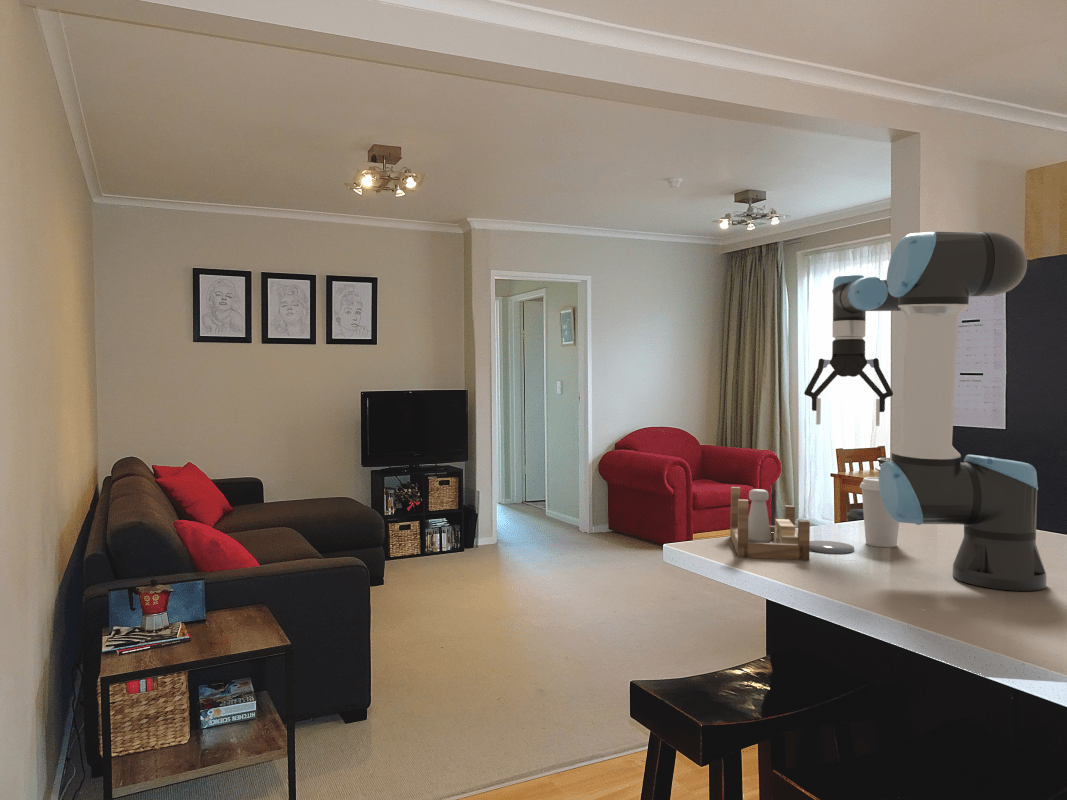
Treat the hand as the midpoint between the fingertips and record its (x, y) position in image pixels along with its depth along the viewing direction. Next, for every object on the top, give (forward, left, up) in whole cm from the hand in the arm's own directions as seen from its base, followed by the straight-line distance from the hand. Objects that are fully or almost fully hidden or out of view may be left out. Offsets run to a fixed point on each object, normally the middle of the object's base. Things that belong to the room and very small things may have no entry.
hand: (847, 425), depth 194 cm
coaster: (-21, +8, -27) cm, 35 cm away
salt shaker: (-23, +24, -27) cm, 42 cm away
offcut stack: (-23, +18, -27) cm, 39 cm away
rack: (-23, +22, -27) cm, 41 cm away
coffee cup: (-14, -5, -27) cm, 30 cm away
